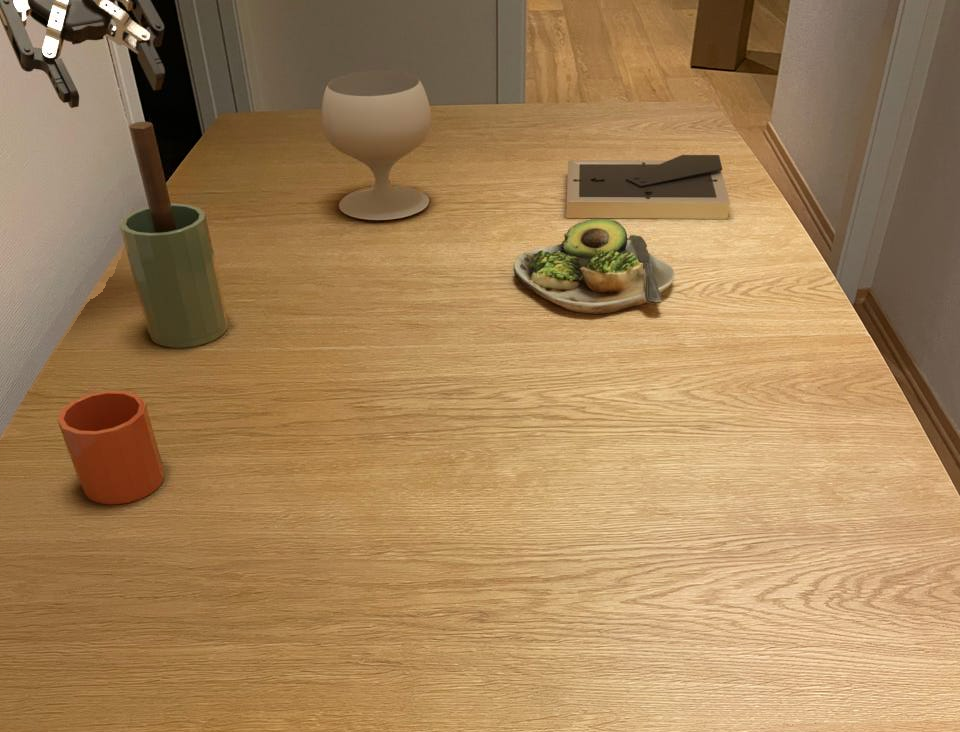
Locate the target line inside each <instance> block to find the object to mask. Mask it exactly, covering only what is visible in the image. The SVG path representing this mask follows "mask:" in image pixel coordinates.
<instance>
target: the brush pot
mask: <svg viewBox="0 0 960 732" xmlns="http://www.w3.org/2000/svg"><path fill="white" fill-rule="evenodd" d="M57 423H58V426H59V429H60V431H61V435H62V437H63V440H64V442H65V445H66V448H67V451H68V455H69V457H70V460H71V463H72V465H73V469H74V471H75V473H76V477H77V478H78V482H79V485H80V487H81V489H82V491H83V493H84V495H85V496H86V498H88V499H89V500H91V501H93V502H95V503H97V504H98V503H99V504H103V505H122V504H127V503H132V502H136V501H139V500H141V499H143V498H146V497H148V496H149V495H151V494H152V493H154V492H156V491H157V489H158V488H159V487H160V486H161V485H162V484H163V482H164V479H165V471H164V464H163V461H162V457H161V454H160V450H159V446H158V443H157V439H156V435H155V432H154V429H153V426H152V422H151V419H150V415H149V412H148V408H147V404H146V402H145V401H144V399H143V398H142V397H141V396H140V395H138V394H136V393H134V392H130V391H128V390H113V389H111V390H110V389H109V390H102V391H97V392H91V393H88V394H85V395H83V396H81V397H78V398H76V399H74V400H72V401H70V402H69V403H68V404H67V405H66V406H65V407H63V408H62V409H61V410H60V412H59V414H58V417H57Z"/></svg>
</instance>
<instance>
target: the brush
mask: <svg viewBox="0 0 960 732" xmlns="http://www.w3.org/2000/svg"><path fill="white" fill-rule="evenodd" d="M128 128H129V132H130V136H131V137H130V138H131V141H132V145H133V149H134V154H135V158H136V162H137V165H138V169H139V173H140V178H141V182H142V185H143V191H144V194H145V199H146V202H147V207H149V211H150V215H151V219H152V223H153V227H154V231H155V233H162V232H169V231H174V230H177V229H176V225H175V220H174V216H173V211H172V207H171V204H172V203H171V198H170V194H169V190H168V185H167V182H166V176H165V172H164V168H163V164H162V159H161V155H160V151H159V146H158V142H157V138H156V134H155V129H154V124H153V123H152V122H151V121H137V122H133V123H131V124H129V126H128Z"/></svg>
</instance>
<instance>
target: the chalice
mask: <svg viewBox="0 0 960 732" xmlns="http://www.w3.org/2000/svg"><path fill="white" fill-rule="evenodd" d="M321 127H322V132H323V135H324V136H325V138H326V140H327V141H328V142H329V143H330V145H331V146H332V147H333V148H334V149H336V150H337V151H339V152H340V153H342V154H344V155H347V156H349V157H351V158H353V159H354V160H357V161H359V162H361V163H363V165H366V166H367V167H368V168H369V169H370V170H371V172H372V174H373V176H374V180H375V181H374V186H369V187H364V188H361V189H358V190H354V191H352V192H350V193H347V195H345V196H344V197H343V198H342V199H341V200H340V201H339V203H338V208H339V210H340V211H341V212H342V213H343V214H345V215H346V216H349V217H352V218H356V219H361V220H368V221H386V220H389V221H390V220H395V219H403V218H405V217H410V216H413V215H415V214H417V213H420V212H421V211H423V210H425V209H426V208H427V207H428V205H429V203H430V198H429V197H428V195H427V194H425V193H424V192H422V191H421V190H419V189H416V188H413V187H411V186H410V187H409V186H404V185H391V183H390V179H389V178H390V172H391V170H392V168H393V166H394V165H395V164H396V163H398V161H399V160H401V159H402V158H403V157H405V156H406V155H408V154H410V153H411V152H413V151H414V150H416V149H417V148H419V147H420V146H421V145H422V144H423V143H424V142H425V140H426V139H427V137H428V135H429V134H430V132H431V129H432V111H431V106H430V103H429V100H428V96H427V93H426V90H425V87H424V85H423V84H422V82H421V80H420V78H419V77H417V76H416V75H414V74H413V73H408V72H405V71H398V70H387V69H386V70H385V69H383V70H381V69H379V70H376V69H375V70H363V71H355V72H349V73H346V74H343V75H340V76H337V77H335V78H333V79H331V80H330V81H328V83H327V85H326V88H325V90H324V93H323V97H322V103H321ZM393 187H397V188H393ZM372 188H373V190H369V191H364V190H368V189H372ZM361 191H364V192H361ZM359 192H361V193H359ZM357 193H358V194H357ZM356 194H357V195H356ZM414 194H415V195H414Z"/></svg>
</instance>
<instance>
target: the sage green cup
mask: <svg viewBox="0 0 960 732" xmlns="http://www.w3.org/2000/svg"><path fill="white" fill-rule="evenodd" d="M171 207H172V211H173V216H174V220H175V225H176V229H177V230H174V231H169V232H162V233H155V231H154V227H153V223H152V219H151V215H150V211H149V207H148V206H145V207H142V208H139V209H138V210H137V209H136V210H134V211H132V212H129V213H128V214H126V215H125V216H124V217H122V218H121V219H120V223H119V227H120V228H119V229H120V233H121V236H122V241H123V243H124V247H125V251H126V254H127V258H128V262H129V266H130V270H131V273H132V277H133V280H134V284H135V288H136V292H137V295H138V299H139V303H140V308H141V311H142V314H143V319H144V322H145V325H146V330H147V331H148V334H149V335H148V336H149V337H150V339H151V341H152V342H153V343H155V344H157V345H159V346H162V347H166V348H173V349H184V348H193V347H198V346H203V345H206V344H208V343H211V342H213V341H215V340H217V339H219V338H220V337H222V336H223V335H224V334H225V333H226V331H227V330H228V325H229V324H228V319H227V318H228V316H227V311H226V307H225V302H224V297H223V292H222V288H221V283H220V277H219V272H218V268H217V264H216V259H215V254H214V249H213V244H212V240H211V235H210V230H209V225H208V221H207V215H206V212H205V211H204V210H202V208H200V207H198V206H195V205H191V204H186V203H171Z"/></svg>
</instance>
